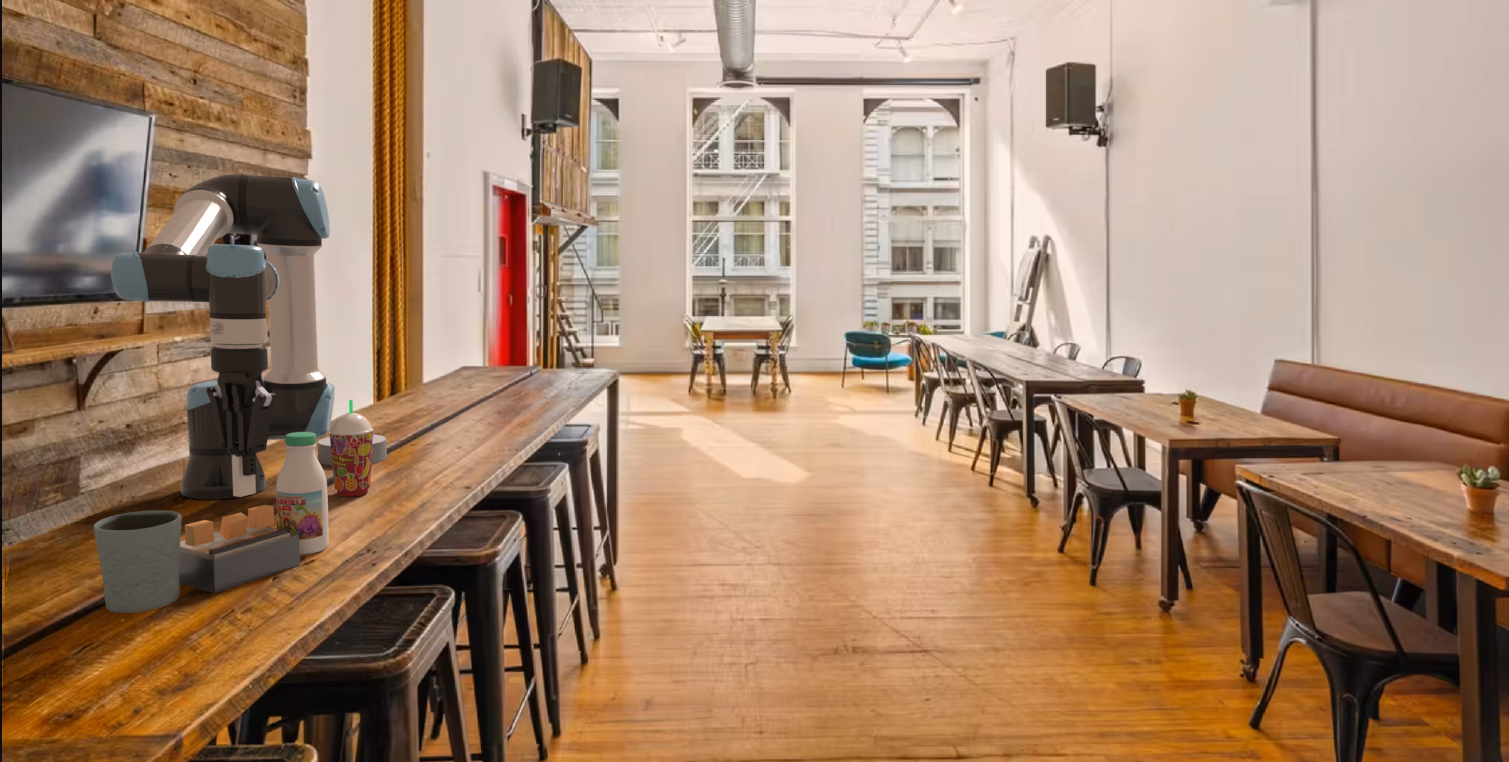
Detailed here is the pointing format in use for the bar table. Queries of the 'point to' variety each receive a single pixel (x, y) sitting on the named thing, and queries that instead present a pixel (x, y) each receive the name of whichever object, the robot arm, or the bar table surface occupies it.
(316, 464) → the milk bottle
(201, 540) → the orange tall rectangular block
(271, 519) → the tan wooden block
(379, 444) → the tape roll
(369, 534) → the bar table surface
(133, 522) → the gray green pot
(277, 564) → the gray rectangular tray
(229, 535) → the small orange block
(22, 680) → the bar table surface
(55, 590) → the bar table surface
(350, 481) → the smoothie
